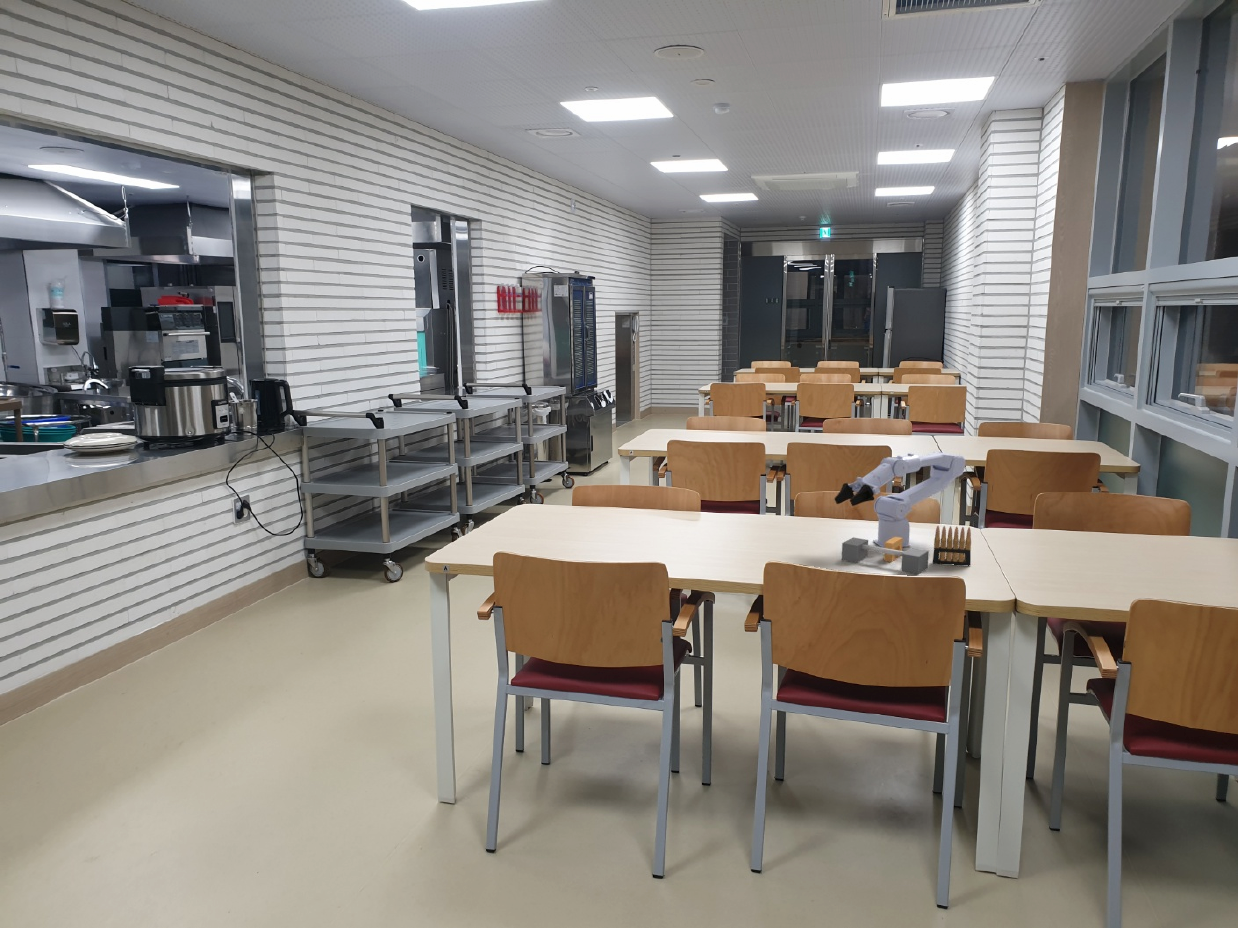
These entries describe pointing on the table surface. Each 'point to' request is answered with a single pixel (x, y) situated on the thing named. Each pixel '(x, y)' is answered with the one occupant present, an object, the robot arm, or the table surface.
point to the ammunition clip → (953, 553)
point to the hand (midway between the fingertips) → (843, 502)
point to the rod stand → (911, 559)
